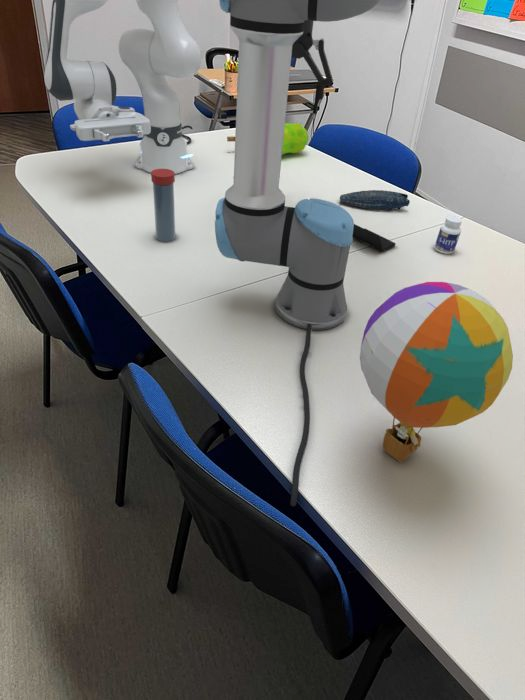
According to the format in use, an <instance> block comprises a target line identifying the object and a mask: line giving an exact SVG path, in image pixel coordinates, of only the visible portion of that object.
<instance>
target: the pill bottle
mask: <svg viewBox="0 0 525 700" xmlns="http://www.w3.org/2000/svg"><path fill="white" fill-rule="evenodd" d="M462 222H463V219H461V218H460V217H458V216H455V215H448V216H446V218H445V220H444V223H443V224H442V225H440V228H439V231H438V234H437V237H436V240H435V243H434V250H435V251H437V252H439V253H441V254H447V255H449V254H453V253H454V252H455V250H456V247H457V244H458V242H459V239H460V236H461V233H462V229H461V225H462Z"/></svg>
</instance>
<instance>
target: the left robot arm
mask: <svg viewBox="0 0 525 700" xmlns="http://www.w3.org/2000/svg"><path fill="white" fill-rule="evenodd" d="M107 2H109V0H52V4H51V12H50V22H49V36H48V44H47V45H48V46H47V55H46V56H47V57H46V60H45V65H44V75H43V77H44V85H45V88H46V90H47V91H48V93H49V94H50V95H51V96H53V97H54V98H55V99H57V100H58V101H61V102H62V101H73V100H74V103H73V110H74V113H75V116H76V117H77V119H76V120H74V123H73V124H70V125H69V128H70V130H72V131H73V132H75V134H76V137H77V138H78V140H79V141H82V142H88V141H99V140H101V141H103V142H110V141H111V140H112V139H116V138H126V137H136V138H138V139H141V138H142V139H141V140H140V141H139V148H140V149H139V150H140V151H139V152H140V153H139V154H140V157H139V158H138V159H137V161H136V162H135V168H137V169H140V170H144V171H145V172H147V173H150V174H151V171H153V170H155V169H169V170H172V171H174V175H176V174H180V173H183V172H185V171H188V170H192V169H194V163H192V162H191V159H190V158H191V157H193V156H194V154H193V153H190V154H188V145H189V144H190V143H191V142H192V138H191V137H190V136H188V135H185V134H183V130H184V129H190V130H193V127H192V125H184V126H183V124H182V122H181V100H180V97H179V94H178V93H177V91H176V90H174V89H173V88H172V87H171V86H170V85H169V83H168V81H167V79H166V77H170V78H171V77H172V78H176V79H181V78H182V79H183V78H192V77H195V75H196V74H197V73H198V71H199V70H200V68H201V63H202V54H201V53H202V52H201V49H200V47H199V44H198V43H197V42H196V40H195V39H194V38H193V37H192V36H191V35H190V33H189V31H188V30H187V28H186V27H185V24H184V22H183V20H182V19H183V18H182V16H181V12H180V9H179V3H178V2H179V1H178V0H136V4H137V7H138V9H139V10H140V12H142V13H143V14H144V15H145V16H146V17H147V18H148V20H149V21H150V22H151V25H152V27H153V29H145V28H132V29H127V30H124V31H123V33H122V34H121V35H120V38H119V40H118V52H119V57H120V59H121V61H122V63H123V64H124V65H125V66H126V67H127V68H128V69H129V70H130V72H131V73H132V75H133V77H134V78H135V80H136V82H137V84H138V87H139V90H140V93H141V97H142V105H143V113H144V114H142V113H140V112H136V110H135V108H133V107H129V106H118V105H114V104H115V102H116V99H117V81H116V77H115V75H114V73H113V71H112V69H110V67H109V65H108V64H106V63H105V62H104V61H94V60H75V59H67V53H68V48H69V47H68V45H69V36H70V28H71V25H72V23H73V21H74V20H75V19H77V18H78V17H79V16H82V15H84V14H87V13H90V12H93V11H96V10H98V9H100V8H101V7H103V6H104V5H105V4H107ZM184 138H185V139H187V141H186V140H185V139H184Z"/></svg>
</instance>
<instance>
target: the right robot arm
mask: <svg viewBox="0 0 525 700" xmlns="http://www.w3.org/2000/svg"><path fill="white" fill-rule="evenodd" d="M218 1H219V6H220V7H219V8H220V10H222V11H223V12H224V13H226V14H230V15H229V17H230V20H229V27H230V29H231V30H232V31H233V33H234V35H235V36H236V37H237V39H238V57H237V58H238V59H237V60H238V62H237V85H236V86H237V87H236V110H235V111H236V112H235V136H234V137H235V141H234V159H233V160H234V161H233V162H234V163H233V166H234V167H233V184H232V185H231V186H229V188H227V189H226V190H225V191H224V197H222V198H220V199H218V201H217V204H216V208H215V220H214V233H215V240H216V241H215V242H216V245H217V248H218V251H219V252H220V254H221V255H222V256H223V257H225V258H227V259H232V260H237V261H239V262H249V263H258V264H265V265H270V266H271V265H272V266H279V267H287V268H288V270H287V271H288V272H287V275H286V278H285V279H284V282H283V283H282V285H281V287H280V290H279V291H278V293H277V295H276V300H275V311H276V313H277V315H278V316H279V317H280V318H281V319H282V320H283V321H284V322H286V323H287V324H289V325H291V326H293V327H296V328H300V329H304V330H306V333H305V343H304V347H303V352H302V355H301V358H300V362H299V378H300V384H301V388H302V393H303V408H304V409H303V410H304V411H303V412H304V413H303V415H304V418H303V429H302V436H301V440H300V442H299V443H300V444H299V447H298V450H297V453H296V456H295V460H294V465H293V470H292V480H291V481H292V482H291V494H290V502H289V504H290V506H291V507H296V506H297V503H298V497H299V495H298V494H299V480H300V470H301V466H302V461H303V458H304V457H303V456H304V453H305V450H306V447H307V444H308V439H309V433H310V422H311V421H310V420H311V410H310V409H311V408H310V395H309V394H310V393H309V389H308V384H307V379H306V371H305V370H306V362H307V357H308V354H309V351H310V346H311V340H312V339H311V337H312V331H324V330H325V331H326V330H329V329H333V328H336V327H337V326H339V325H340V324H342V323H343V322H344V320H345V318H346V315H347V310H348V305H347V297H346V292H345V286H344V280H345V275H346V271H347V267H348V266H347V264H348V260H349V254H350V250H351V249H350V248H351V246H352V244H353V242H354V238H353V237H352V235H353V228H354V224H355V223H354V219H353V217H352V215H351V214H350V213H349V212H348V211H347V210H346V209H345V208H343V206H342V207H341V206H340V205H338V204H336V203H334V202H331V201H329V200H326V199H320V198H312V197H311V198H309V199H308V198H304V199H301V200H299V201H298V202H297V203H296V205H295V206H294V207H293V206H286V195H285V193H284V192H283V191H282V190H281V189H280V188H279V187H280V178H281V177H280V176H281V167H282V157H283V155H282V148H283V138H284V127H285V123H286V118H287V117H286V115H287V105H288V94H289V84H290V74H291V63H292V58H295V59H297V60H301V59H304V61H305V62H306V64H307V65H308V67H309V68H310V70H311V72H312V74H313V76H314V77H315V79H316V81H317V82H318V83H316V87H315V94H314V102H313V109H312V114H314V115H316V114H317V112H318V104H319V100H323V98H324V92H325V86H327V85H331V84H332V83H333V75H332V72H331V69H330V65H329V61H328V58H327V55H326V50H325V39H324V38H319V39H313V30H314V22H324V23H325V22H327V23H328V22H339V21H343V20H344V21H345V20H349V19H351V18H355V17H358V16H360V15H363V14H365V13H367V12H369V11H370V10H371V9H374V8H375V7H376V6H377V5H378V4H379V3H380V2H381V0H218ZM313 46H314V48H315V50H316V51H318V56H319V58H320V62H321V66H322V69H323V73H324V76H325V77H324V76H323V74H322V73H321V71H320V69H319V67H318V65H317V64H316V62H315V60H314V59H313V57H312V54H311V52H310V51H309V50H311V48H312V47H313Z"/></svg>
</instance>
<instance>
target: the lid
mask: <svg viewBox="0 0 525 700" xmlns="http://www.w3.org/2000/svg"><path fill="white" fill-rule="evenodd" d="M175 176H176V174H174V171H172V170H169V169H155V170H153V171H151V173H150V178H151V183H152V184H153V183H155V184H158V185H169V184H172V183H175V181H176V180H175V179H176V177H175Z"/></svg>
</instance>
